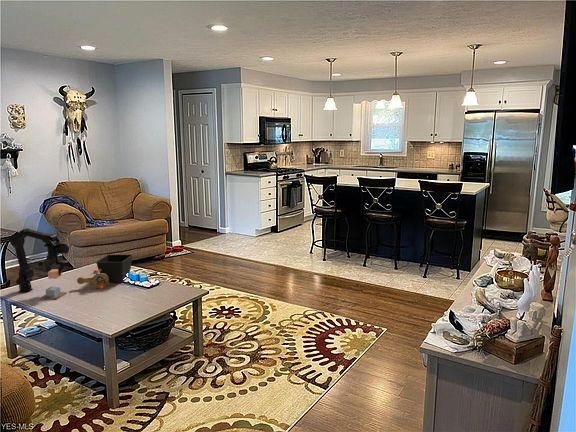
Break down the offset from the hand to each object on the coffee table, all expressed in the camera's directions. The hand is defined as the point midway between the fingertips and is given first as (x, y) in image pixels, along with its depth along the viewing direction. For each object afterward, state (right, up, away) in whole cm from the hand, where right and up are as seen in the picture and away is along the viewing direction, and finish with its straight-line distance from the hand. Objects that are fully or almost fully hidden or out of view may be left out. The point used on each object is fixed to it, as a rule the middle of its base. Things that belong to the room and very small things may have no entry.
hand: (55, 275), depth 286 cm
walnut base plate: (+1, -13, -4) cm, 14 cm away
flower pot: (+29, -7, +28) cm, 41 cm away
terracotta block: (0, -1, 0) cm, 1 cm away
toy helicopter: (+21, -11, +12) cm, 27 cm away
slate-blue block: (+1, -12, -4) cm, 13 cm away
